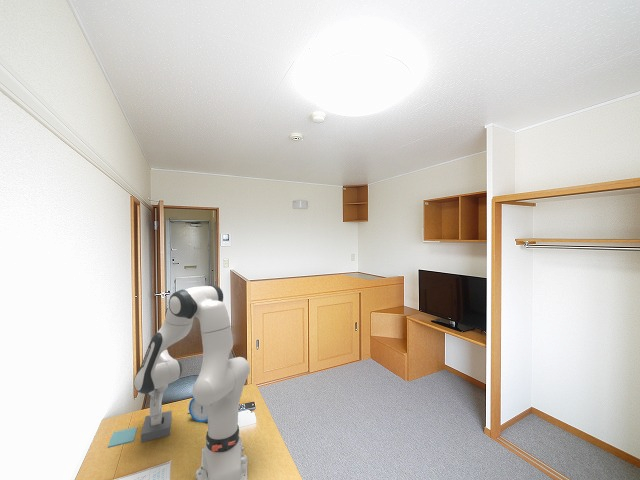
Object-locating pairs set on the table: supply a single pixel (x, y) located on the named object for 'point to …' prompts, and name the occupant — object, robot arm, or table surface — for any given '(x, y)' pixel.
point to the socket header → (156, 427)
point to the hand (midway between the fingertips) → (156, 415)
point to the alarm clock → (198, 411)
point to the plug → (157, 421)
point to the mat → (122, 437)
